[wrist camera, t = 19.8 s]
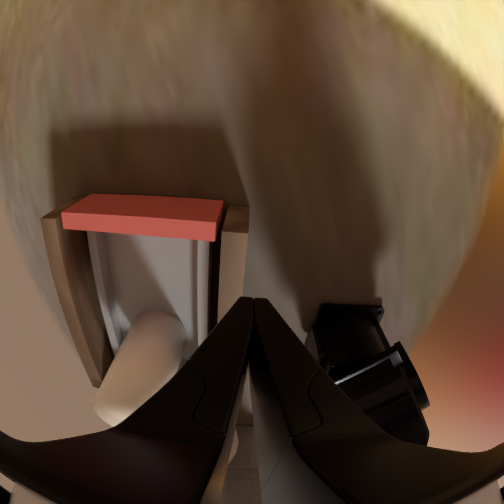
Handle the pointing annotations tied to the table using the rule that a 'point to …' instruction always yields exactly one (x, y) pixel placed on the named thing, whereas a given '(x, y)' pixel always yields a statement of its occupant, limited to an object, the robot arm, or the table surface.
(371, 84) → the table surface
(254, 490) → the coffeepot
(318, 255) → the table surface
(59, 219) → the slot
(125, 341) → the canister
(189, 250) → the tray
